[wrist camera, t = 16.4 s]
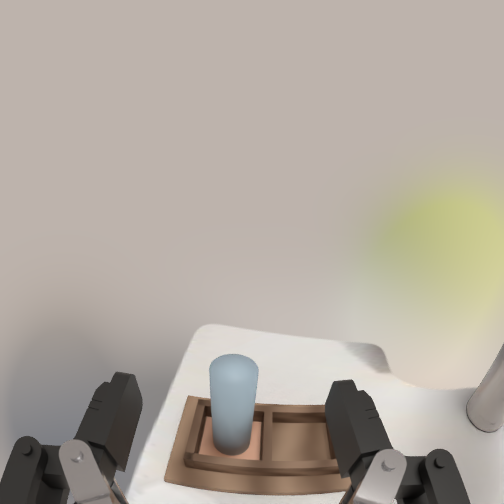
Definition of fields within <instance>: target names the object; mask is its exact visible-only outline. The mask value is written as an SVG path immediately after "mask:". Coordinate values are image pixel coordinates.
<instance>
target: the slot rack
mask: <svg viewBox="0 0 504 504" xmlns="http://www.w3.org/2000/svg"><path fill="white" fill-rule="evenodd" d="M164 480H165V482H169V483H173V484H178V485H183V486H188V487H193V488H199V489H206V490H213V491H220V492H229V493H240V494H255V495H307V494H322V493H333V492H342V491H347V489H348V487H349V485H350V484H351V479H350V477H347V478H342V479H341V476H340V472H339V468H338V464H337V460H336V456H335V452H334V448H333V444H332V440H331V436H330V432H329V428H328V425H327V421H326V417H325V405H278V404H259V403H255V406H254V415H253V423H252V431H251V439H250V445H249V447H248V449H247V450H246V451H245V452H244V453H242V454H239V455H234V456H231V455H225V454H223V453H221V452H219V451H218V450H217V449H216V448H215V446H214V443H213V429H212V413H211V399H208V398H201V397H194V396H188V397H187V401H186V404H185V407H184V411H183V414H182V418H181V421H180V424H179V428H178V431H177V435H176V438H175V442H174V445H173V448H172V452H171V455H170V459H169V463H168V466H167V470H166V473H165V477H164Z"/></svg>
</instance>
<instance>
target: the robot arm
mask: <svg viewBox="0 0 504 504" xmlns="http://www.w3.org/2000/svg"><path fill="white" fill-rule="evenodd" d="M88 407H89V408H88V409H87V411H86V413H85V415H84V418H83V420H82V422H81V424H80V427H79V429H78V432H77V434H76V436H75V438H74V439H73V440H69V441H67V442H65V443H64V444H63V445H62V446H52V445H41V444H40V443H39V442H38V441H37V440H36V439H35V438H33V437H30V436H24V437H21V438H20V439H18V440H17V441H16V443H15V445H14V447H13V450H12V452H11V455H10V458H9V460H8V462H7V465H6V468H5V471H4V473H3V477H2V479H1V482H0V504H67V499H68V495H69V491H70V490H71V492H72V495H73V497H74V500H75V503H74V504H129V503H128V501H127V500H126V498H125V496H124V494H123V493H122V491H121V489H120V487H119V485H118V483H117V482H116V480H115V478H114V475H115V472H116V470H119V471H123V472H125V468H126V465H127V461H128V457H129V453H130V449H131V445H132V442H133V438H134V435H135V431H136V428H137V424H138V421H139V418H140V414H141V411H142V396H141V393H140V390H139V387H138V384H137V381H136V378H135V375H133V374H128V373H122V372H116V373H115V374H114V376H113V378H112V380H111V382H110V383H108V382H104V383H103V384H101V385H100V386H99V387H98V388H97V389H96V391H95V393H94V395H93V398H92V401H91V402H90V404H89V406H88ZM467 413H468V416H469V419H470V420H471V422H472V423H473V424H474V425H475V426H476V427H477V428H479V429H481V430H483V431H487V432H493V431H496V430H498V429H499V428H500V427H501V426H502V425H503V424H504V344H503V346H502V348H501V349H500V351H499V353H498V355H497V357H496V359H495V361H494V362H493V364H492V366H491V367H490V369H489V371H488V372H487V374H486V376H485V377H484V379H483V380H482V382H481V383H480V385H479V386H478V388H477V390H476V391H475V393H474V394H473V395H472V397H471V398H470V400H469V401H468V404H467ZM325 417H326V421H327V425H328V428H329V432H330V436H331V440H332V444H333V448H334V452H335V456H336V460H337V464H338V468H339V472H340V476H341V479H342V478H347V477H350V479H351V484H350V485H349V487H348V489H347V491H346V493H345V494H344V496H343V498H342V499H341V501H340V503H339V504H392V503H393V501H394V499H396V500H397V504H470V501H469V498H468V495H467V492H466V489H465V487H464V484H463V481H462V479H461V476H460V473H459V471H458V468H457V466H456V463H455V461H454V459H453V456H452V455H451V454H450V453H449V452H448V451H446V450H444V449H436V450H433V451H431V452H430V453H429V454H428V455H427V456H404V455H403V454H402V453H401V452H399V451H397V450H394V449H393V447H392V445H391V443H390V441H389V438H388V436H387V433H386V431H385V428H384V426H383V423H382V421H381V419H380V418H379V414H378V411H377V410H376V407H375V404H374V402H373V400H372V398H371V397H370V396H369V395H368V394H367V393H366V392H365V391H364V390H361V391H357V388H356V386H355V383H354V381H353V380H342V381H334V382H333V384H332V387H331V389H330V392H329V395H328V398H327V400H326V403H325Z"/></svg>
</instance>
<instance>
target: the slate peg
mask: <svg viewBox="0 0 504 504" xmlns="http://www.w3.org/2000/svg"><path fill="white" fill-rule="evenodd" d="M209 373H210V395H211V413H212V429H213V443H214V446H215V448H216V449H217V450H218V451H219V452H221V453H223V454H225V455H231V456H234V455H239V454H242V453H244V452H245V451H246V450H247V449H248V447H249V445H250V439H251V431H252V423H253V415H254V406H255V398H256V389H257V381H258V366H257V365H256V363H255V362H254V361H253V360H252V359H250V358H248V357H246V356H243V355H239V354H227V355H223V356H220V357H218V358H216V359H215V360H214V361H213V362H212V363H211V365H210V368H209Z"/></svg>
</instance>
